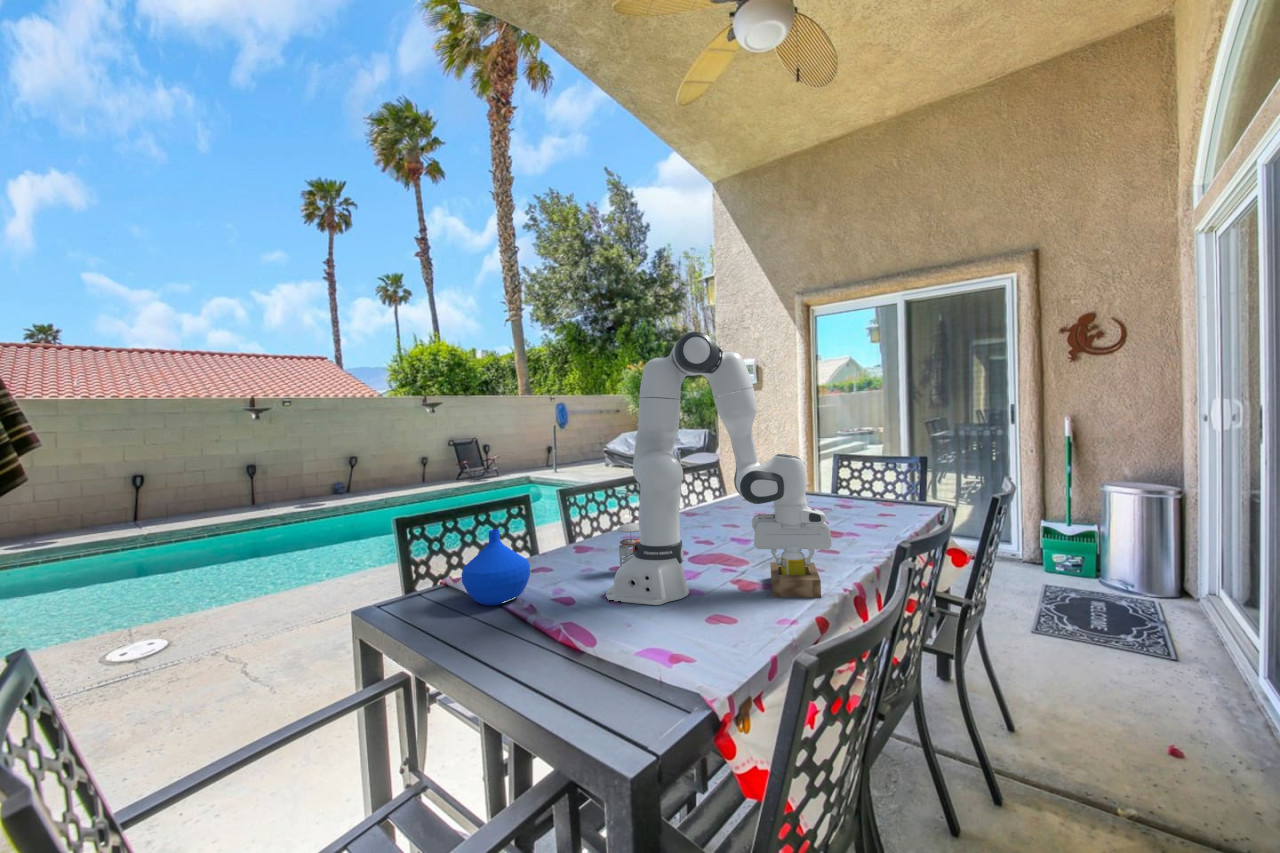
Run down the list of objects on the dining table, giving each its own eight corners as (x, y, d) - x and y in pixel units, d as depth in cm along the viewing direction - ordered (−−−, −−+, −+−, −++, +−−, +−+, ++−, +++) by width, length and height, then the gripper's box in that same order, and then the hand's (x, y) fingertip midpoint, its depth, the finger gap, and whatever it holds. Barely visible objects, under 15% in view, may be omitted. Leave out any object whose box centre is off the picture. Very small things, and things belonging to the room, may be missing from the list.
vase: (541, 588, 158) (537, 523, 158) (516, 611, 140) (511, 537, 140) (482, 588, 161) (478, 524, 161) (450, 611, 143) (445, 538, 143)
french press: (616, 569, 175) (611, 491, 174) (651, 566, 176) (647, 488, 175) (618, 578, 165) (613, 495, 164) (656, 574, 166) (651, 492, 165)
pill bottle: (809, 584, 148) (808, 544, 148) (798, 590, 143) (797, 548, 143) (788, 580, 152) (787, 540, 152) (777, 585, 148) (776, 545, 147)
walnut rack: (772, 596, 141) (771, 579, 141) (771, 577, 157) (770, 562, 157) (821, 597, 139) (820, 579, 139) (814, 578, 154) (813, 562, 154)
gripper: (751, 516, 146) (753, 567, 147) (831, 515, 142) (833, 568, 142) (751, 512, 153) (753, 561, 153) (828, 511, 148) (830, 562, 149)
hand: (793, 564), depth 148 cm, fingers closed on pill bottle, 6 cm apart
